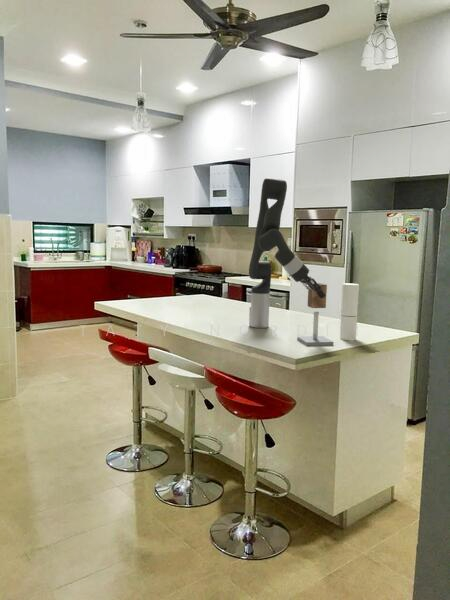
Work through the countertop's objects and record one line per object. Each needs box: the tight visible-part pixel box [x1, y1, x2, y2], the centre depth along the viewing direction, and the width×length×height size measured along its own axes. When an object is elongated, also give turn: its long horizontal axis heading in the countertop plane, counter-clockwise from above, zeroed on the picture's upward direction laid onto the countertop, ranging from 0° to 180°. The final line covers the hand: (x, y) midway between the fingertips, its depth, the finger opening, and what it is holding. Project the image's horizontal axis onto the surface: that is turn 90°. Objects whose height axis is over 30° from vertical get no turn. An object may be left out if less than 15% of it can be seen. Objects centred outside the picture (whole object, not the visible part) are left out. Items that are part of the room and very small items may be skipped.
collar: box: [307, 282, 328, 309], centre depth 210 cm, size 6×6×10 cm
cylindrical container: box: [339, 282, 360, 341], centre depth 220 cm, size 7×7×25 cm
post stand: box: [296, 311, 335, 347], centre depth 212 cm, size 12×12×14 cm
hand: (320, 296), depth 210 cm, fingers closed on collar, 6 cm apart
